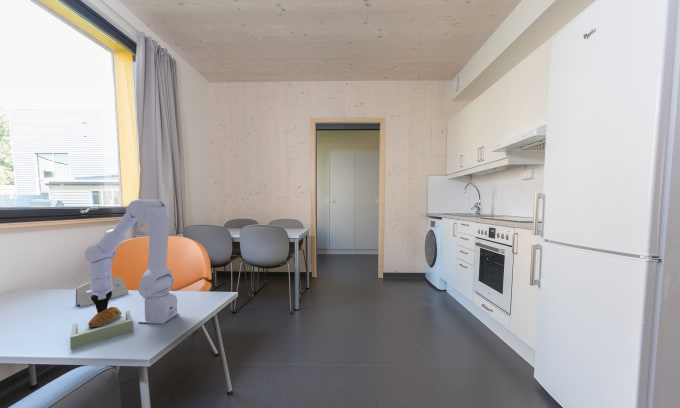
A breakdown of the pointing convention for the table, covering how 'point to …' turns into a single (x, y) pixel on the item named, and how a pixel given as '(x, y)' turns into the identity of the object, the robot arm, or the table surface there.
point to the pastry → (105, 317)
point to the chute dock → (100, 332)
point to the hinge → (85, 298)
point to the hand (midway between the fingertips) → (102, 313)
